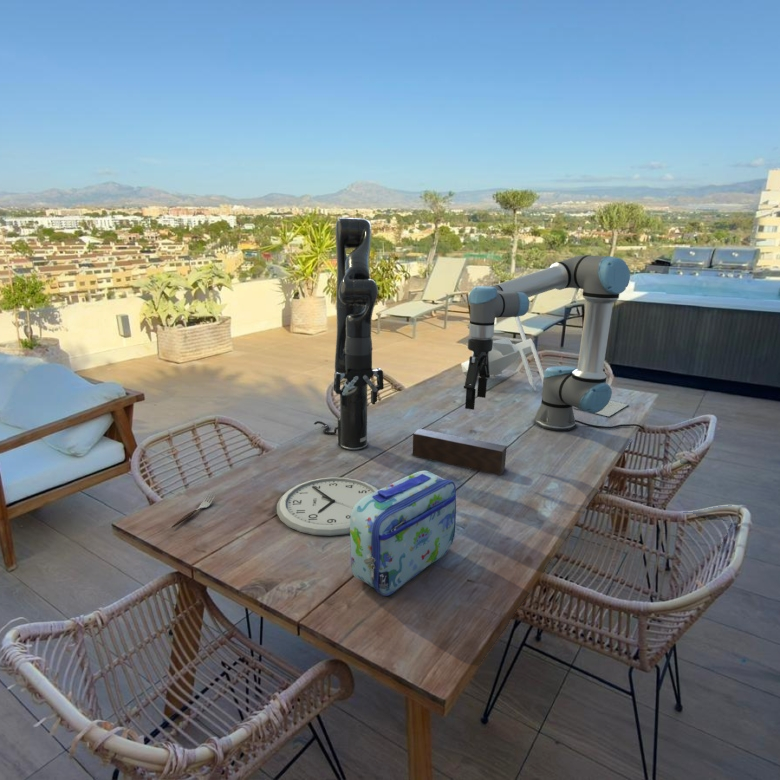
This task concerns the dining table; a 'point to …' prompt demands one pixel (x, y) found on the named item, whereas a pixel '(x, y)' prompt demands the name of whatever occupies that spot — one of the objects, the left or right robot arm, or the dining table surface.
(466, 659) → the dining table surface
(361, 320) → the left robot arm
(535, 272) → the right robot arm
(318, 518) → the wall clock
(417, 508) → the lunch box
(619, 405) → the invitation card
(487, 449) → the walnut beam
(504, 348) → the white plastic object
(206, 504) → the fork
